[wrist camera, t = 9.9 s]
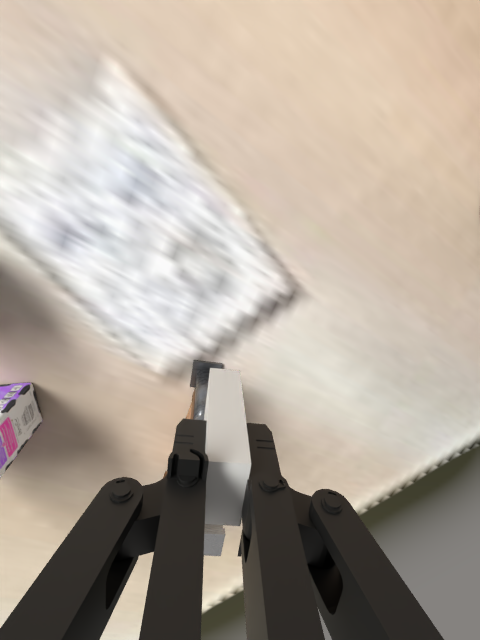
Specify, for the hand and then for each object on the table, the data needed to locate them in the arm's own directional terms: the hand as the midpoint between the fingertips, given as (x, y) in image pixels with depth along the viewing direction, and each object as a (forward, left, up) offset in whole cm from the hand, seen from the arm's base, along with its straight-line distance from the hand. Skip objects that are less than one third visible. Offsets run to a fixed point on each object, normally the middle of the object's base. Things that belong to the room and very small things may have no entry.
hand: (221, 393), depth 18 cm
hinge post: (-1, +13, -26) cm, 29 cm away
